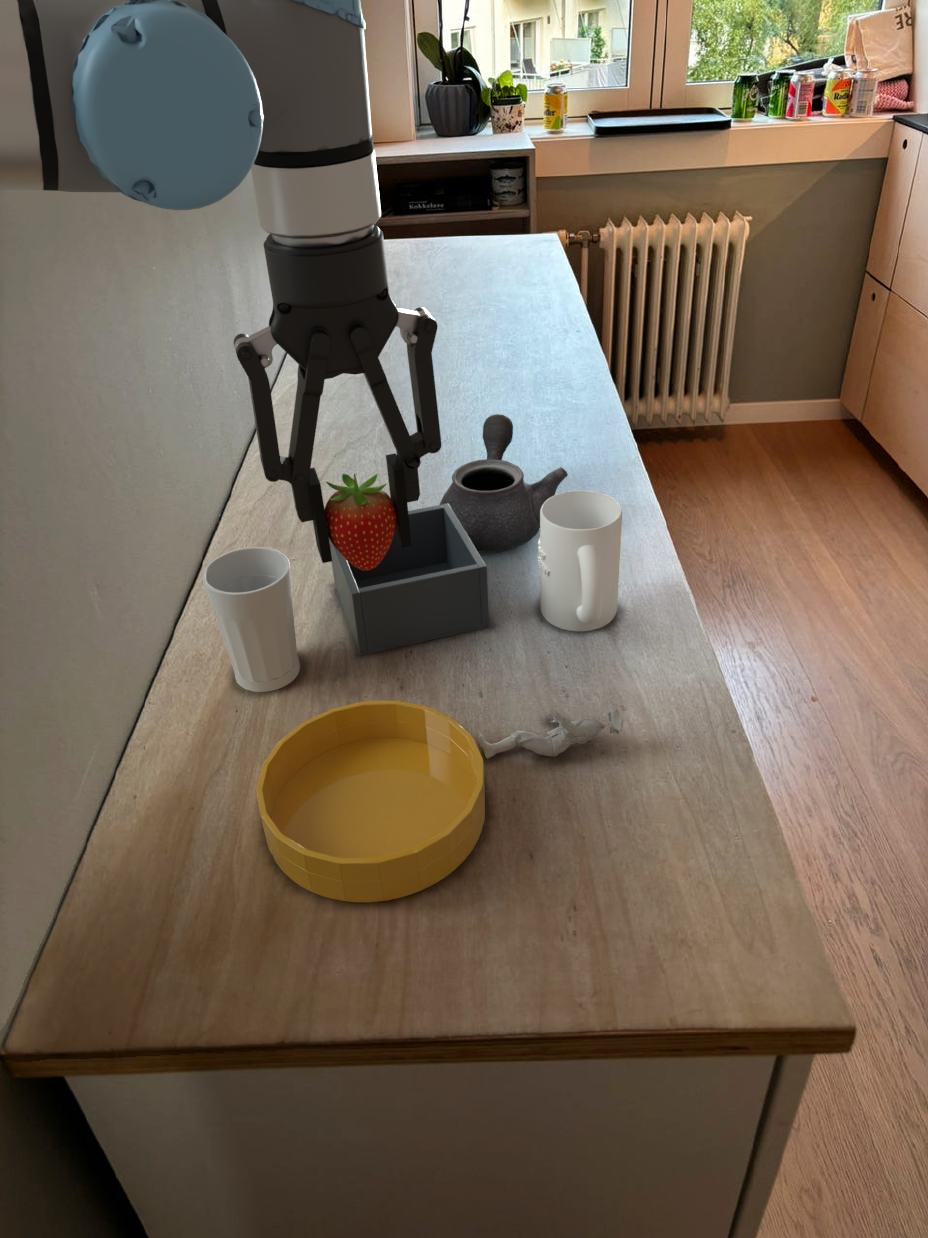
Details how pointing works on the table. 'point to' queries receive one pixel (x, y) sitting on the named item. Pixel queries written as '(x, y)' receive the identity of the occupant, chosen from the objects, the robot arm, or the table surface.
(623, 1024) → the table surface
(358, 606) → the bin
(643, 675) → the table surface
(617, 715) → the soldier figure
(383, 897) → the bowl
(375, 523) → the fruit
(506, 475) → the teapot
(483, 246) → the table surface
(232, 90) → the robot arm
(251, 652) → the cup
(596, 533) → the mug
